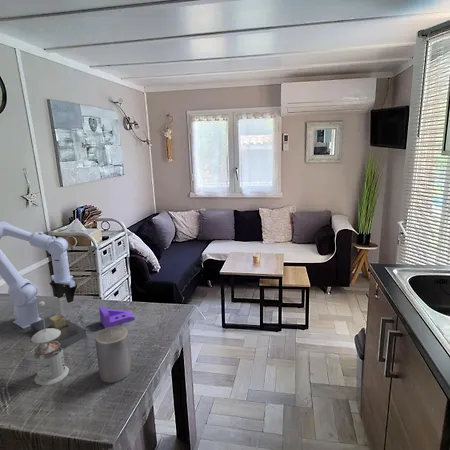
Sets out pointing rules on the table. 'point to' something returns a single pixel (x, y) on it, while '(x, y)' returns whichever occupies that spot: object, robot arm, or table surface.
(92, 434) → the table surface
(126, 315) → the bracket
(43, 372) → the french press
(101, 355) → the pillar candle
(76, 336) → the dark grey slotted block
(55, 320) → the brass peg
